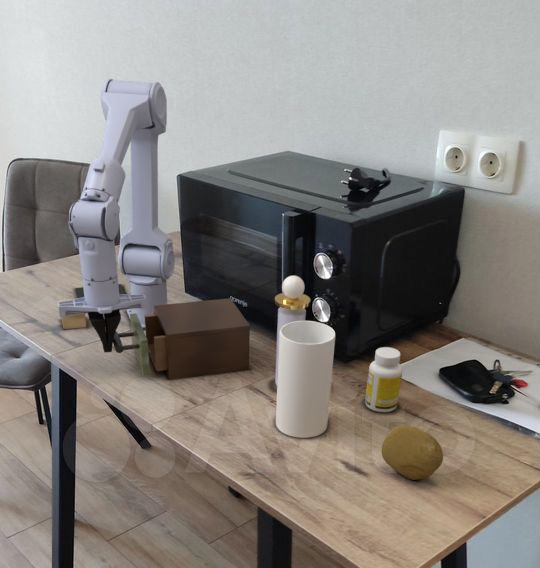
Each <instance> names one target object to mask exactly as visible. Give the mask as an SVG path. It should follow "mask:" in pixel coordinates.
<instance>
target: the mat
mask: <svg viewBox="0 0 540 568" xmlns="http://www.w3.org/2000/svg"><path fill="white" fill-rule="evenodd" d="M118 286H119V294H126V293H125V291H124V288H123V286H122V284H121V283H118ZM74 290H75V293H76V296H77V298H82V297H84V288H83V286H81V287H75V289H74Z"/></svg>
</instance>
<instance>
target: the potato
mask: <svg viewBox="0 0 540 568" xmlns="http://www.w3.org/2000/svg"><path fill="white" fill-rule="evenodd" d="M381 457H382V459H383V460H384V462H385V463H386V464H387V465H388V466H389V467H390V468H392V469H393V470H394V471H396V472H397V473H399V474H400V475H402V476H403V477H405V478H406V479H408V480H411V481H412V480H414V481H416V480H423V479H427V478H429V477H431V476H432V475H433V474H434V473H435V472H436V471H437V470H438V469H439V468H440V467H441V465H442V464H443V461H444V453H443V449H442V446H441V445H440V442H439V441H438V440H437V439H436V438H435V437H434V436H432V434H429V433H428V432H426V431H424V430H422V429H419V428H417V427H413V426H409V425H408V426H407V425H397V426H395V427H393V428H392V429H391V430H390V431H389V432H388V434H387V435H386V436H385V438H384V439H383V442H382V445H381Z"/></svg>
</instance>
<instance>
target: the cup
mask: <svg viewBox="0 0 540 568" xmlns="http://www.w3.org/2000/svg"><path fill="white" fill-rule="evenodd" d="M335 345H336V332H335V330H334V329H333V327H331V326H330V325H327V324H325V323H322V322H318V321H314V320H305V321H295V322H291V323H288V324H286V325H284V326H283V327H282V328H281V329H280V338H279V359H278V382H277V385H276V408H275V410H276V411H275V426H276V428H277V429H278V431H280V432H281V433H282V434H284V435H287V436H290V437H293V438H301V439H307V438H314V437H317V436H320V435H321V434H323V433H324V432H326V430H327V428H328V419H329V410H330V409H329V408H330V398H331V386H332V377H333V366H334V355H335Z"/></svg>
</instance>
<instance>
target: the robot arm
mask: <svg viewBox="0 0 540 568" xmlns="http://www.w3.org/2000/svg"><path fill="white" fill-rule="evenodd" d="M167 103H168V101H167V96H166V92H165V89H164V87H163V85H162V84H161V83H160V82H158V81H154V82H148V81H146V82H145V81H134V80H133V81H132V80H117V79H112V78H108V79H106V80H105V81H104V83H103V84H102V87H101V92H100V104H101V108H102V112H103V113H102V114H103V116H104V120H105V125H104V126H105V127H104V131H103V136H102V143H101V148H100V153H99V157H97V158H94V159H92V161H91V162H90V164H89V167H88V171H87V174H86V178H85V180H84V184H83V188H82V191H81V194H80V198H79V199H78V200H77V201H76V202H73V203H72V204H71V206H70V208H69V212H68V222H67V223H68V229H69V232H70V234H71V236H72V239H73V241H74V242H73V243H74V246H75V249H77V250H78V255H79V262H80V263H79V264H80V271H81V278H82V279H81V280H82V287H83V288H84V297H82V298H78V297H77V298H78V299H77V298H73V299H74V300H69V301H64V302H59V301H58V302H57V309H58V310H57V311H58V315H59V318H61V317H66V315H74V314H84V313H85V314H87V315H88V321H89V322H90V324H91V326H92V327H93V329H94V330H95V331H96V334H97V335H98V337H99V340H100V342H101V344H102V349H103V352H104V353H112V352H113V345H114V344H113V339H114V335H115V332H117V329H118V326H119V325H120V323H121V319H122V314H121V311H124V310H125V311H126V313H127V315H128V318H129V319H130V314H135V313H136V314H137V316H138V319H139V321H140V323H141V326H142V328H143V329H145V317H144V315H151V314H154V309H153V306H155V305H166V304H169V303H168V286H167V285H168V283H167V282H168V281H167V280H169V279H170V278H171V277H172V275H174V272H175V271H174V270H175V265H176V264H175V263H176V258H175V252H174V244H173V243H174V242H173V239H172V238H171V237H170V236H169V235H168V234H167V233H166V232H164V231H163V230H162V229H161V228H160V227H159V167H158V165H159V162H158V161H159V159H158V158H159V155H158V154H159V153H158V152H159V151H158V150H159V148H158V146H159V136H160V135H162V134H165V133H166V132H167V125H168V123H167V122H168V116H167V115H168V108H167V107H168V105H167ZM129 146H130V147H129ZM129 148H130V187H131V190H130V191H131V228H130V229H128V231H126V232H125V233H123V234H122V235H121V237H120V239H119V250H118V256H117V253H116V243H115V239H116V237H117V235H118V233H119V229H120V212H121V207H120V205H119V201H120V198H121V195H122V190H123V187H124V184H125V179H126V172H125V170H124V168H123V167H122V165H123V162H124V160H125V157H126V154H127V151H128V150H129ZM117 264H118V265H117ZM118 269H119V270H120V272H121V274H122V275H123V276H125V280H126V281H129V294H126V293H125V294H119V286H118V284H119V276H118Z"/></svg>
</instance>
